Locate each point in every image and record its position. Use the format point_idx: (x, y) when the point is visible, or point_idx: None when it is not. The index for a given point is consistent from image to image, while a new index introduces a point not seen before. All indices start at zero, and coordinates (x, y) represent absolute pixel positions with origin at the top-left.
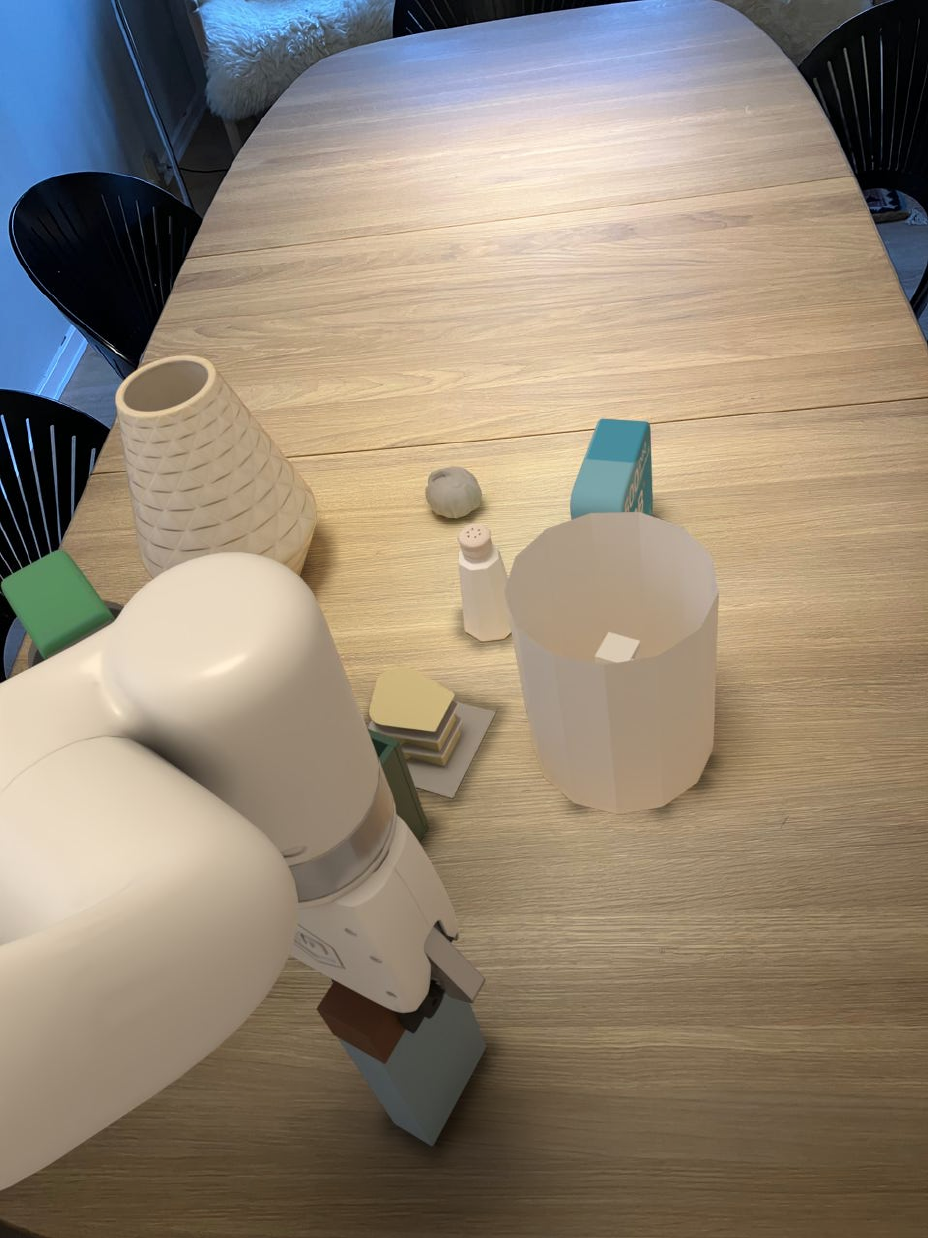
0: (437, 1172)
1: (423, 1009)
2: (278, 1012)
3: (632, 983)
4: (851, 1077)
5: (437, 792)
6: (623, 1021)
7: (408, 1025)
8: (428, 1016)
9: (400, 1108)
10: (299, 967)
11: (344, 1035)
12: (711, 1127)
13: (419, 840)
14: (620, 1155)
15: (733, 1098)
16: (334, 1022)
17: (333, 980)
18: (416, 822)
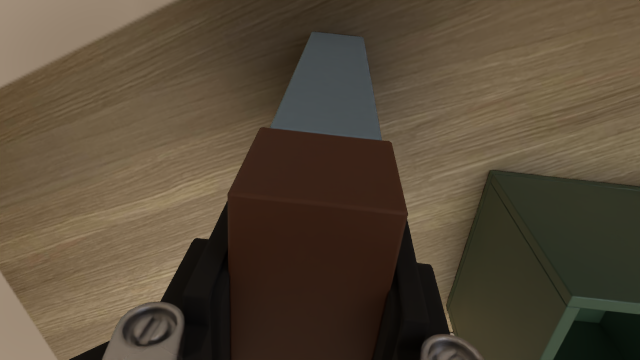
0: (295, 9)
1: (178, 271)
2: (547, 97)
3: (203, 233)
4: (13, 218)
5: (450, 334)
6: (195, 203)
7: (219, 220)
8: (191, 246)
9: (323, 56)
10: (538, 149)
11: (346, 157)
12: (83, 147)
13: (450, 293)
14: (139, 96)
15: (81, 174)
16: (353, 192)
17: (409, 260)
18: (455, 318)
